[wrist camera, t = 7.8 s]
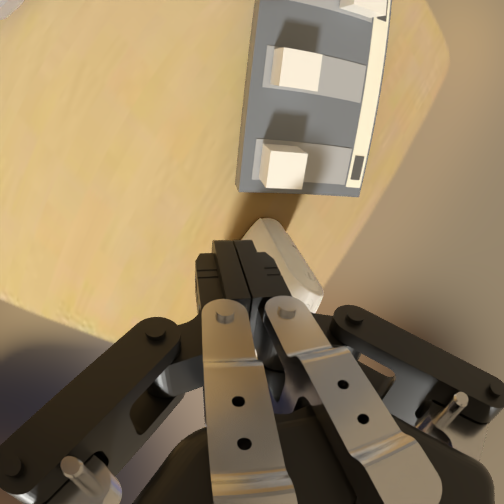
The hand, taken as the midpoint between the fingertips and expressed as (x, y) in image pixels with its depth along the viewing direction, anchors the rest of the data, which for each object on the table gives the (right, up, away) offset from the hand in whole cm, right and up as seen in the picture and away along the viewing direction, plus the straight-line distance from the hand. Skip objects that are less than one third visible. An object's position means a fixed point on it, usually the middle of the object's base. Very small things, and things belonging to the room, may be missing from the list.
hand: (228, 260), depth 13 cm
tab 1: (+3, +8, +14) cm, 16 cm away
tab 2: (+10, +22, +7) cm, 25 cm away
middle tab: (+4, +15, +10) cm, 18 cm away
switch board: (+6, +16, +12) cm, 21 cm away
